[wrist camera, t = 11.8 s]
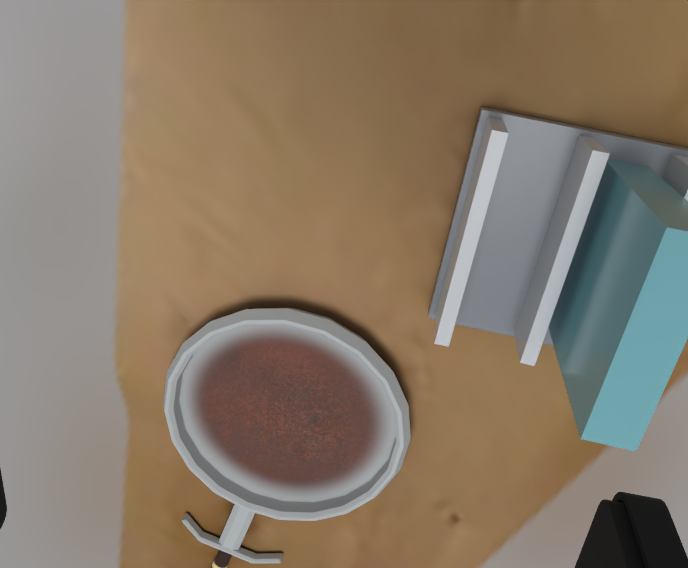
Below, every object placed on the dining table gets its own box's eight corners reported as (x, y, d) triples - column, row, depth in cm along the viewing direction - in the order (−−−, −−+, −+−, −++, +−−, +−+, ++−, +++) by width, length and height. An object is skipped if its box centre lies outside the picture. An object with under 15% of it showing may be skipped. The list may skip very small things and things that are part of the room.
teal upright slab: (603, 158, 34) (666, 227, 24) (649, 166, 34) (732, 240, 24) (546, 322, 38) (580, 438, 28) (587, 331, 38) (635, 451, 28)
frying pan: (104, 562, 51) (194, 272, 39) (121, 534, 54) (211, 253, 41) (301, 643, 52) (455, 383, 39) (309, 611, 54) (455, 358, 42)
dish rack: (481, 106, 35) (485, 121, 31) (691, 148, 34) (724, 170, 30) (428, 310, 40) (426, 346, 36) (609, 350, 39) (627, 391, 35)
